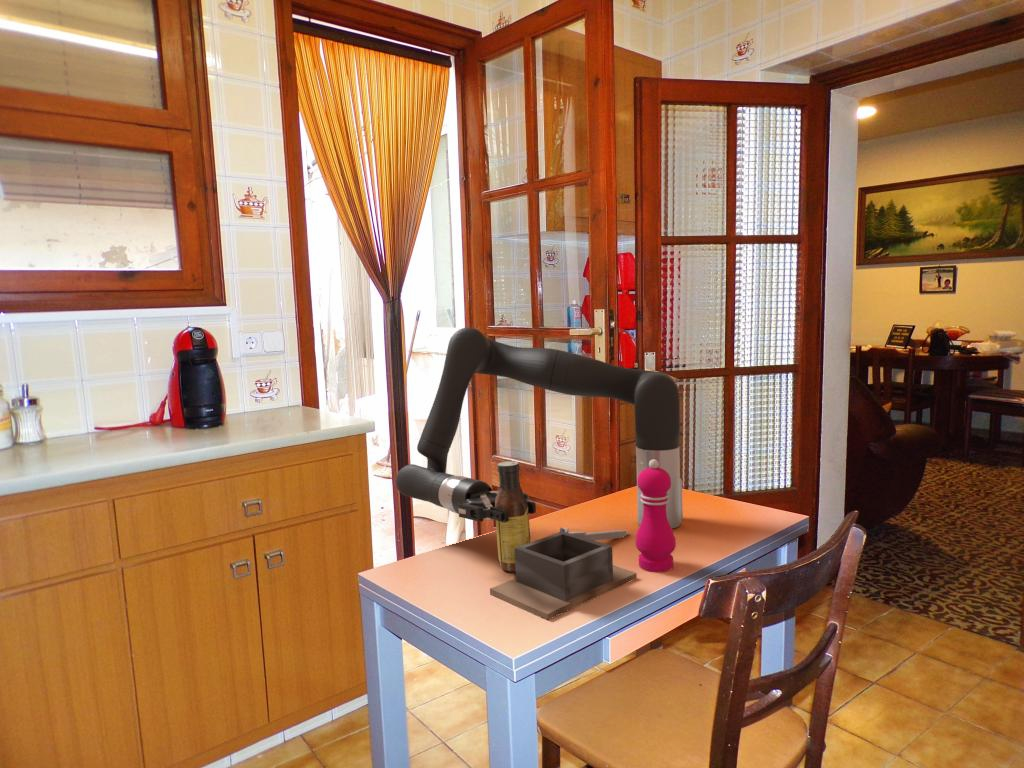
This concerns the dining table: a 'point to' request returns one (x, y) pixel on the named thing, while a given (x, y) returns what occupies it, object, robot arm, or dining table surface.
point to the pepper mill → (655, 520)
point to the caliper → (599, 534)
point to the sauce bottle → (511, 515)
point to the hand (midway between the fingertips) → (520, 512)
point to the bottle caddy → (561, 574)
